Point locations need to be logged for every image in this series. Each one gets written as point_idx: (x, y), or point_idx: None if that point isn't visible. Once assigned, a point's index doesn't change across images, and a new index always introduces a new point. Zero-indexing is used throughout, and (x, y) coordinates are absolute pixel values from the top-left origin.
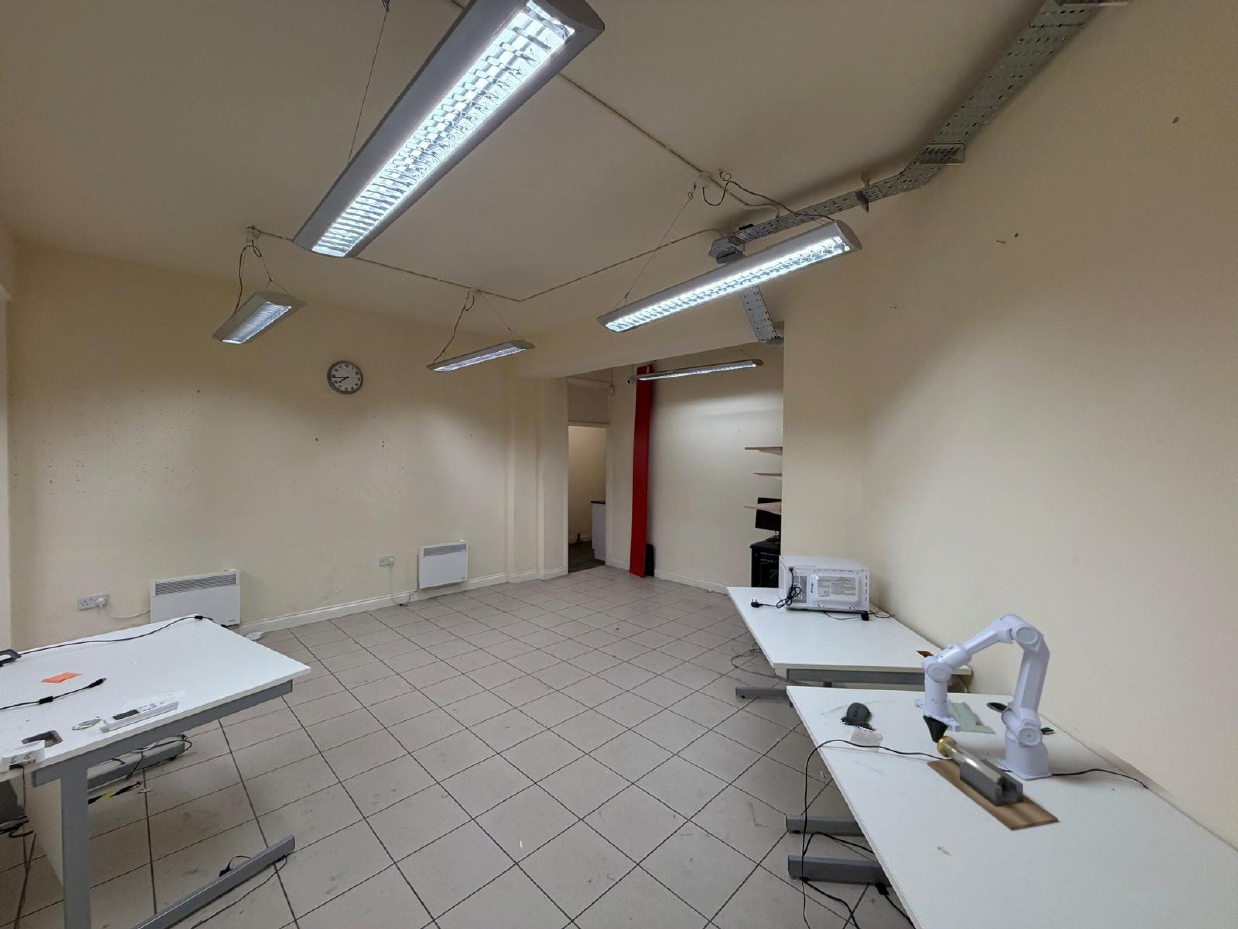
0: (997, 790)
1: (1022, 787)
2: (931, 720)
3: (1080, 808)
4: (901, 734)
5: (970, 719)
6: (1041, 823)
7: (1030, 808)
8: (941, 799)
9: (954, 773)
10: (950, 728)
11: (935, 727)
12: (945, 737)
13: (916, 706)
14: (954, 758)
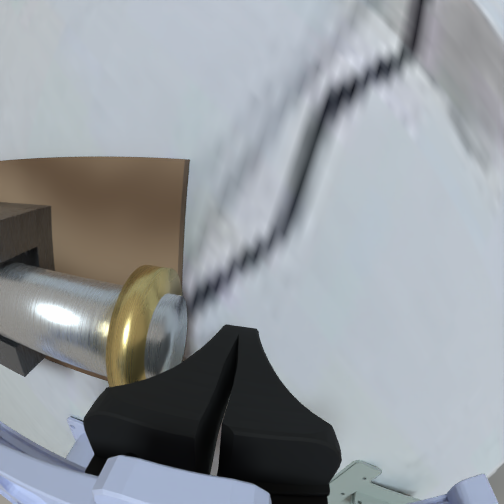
0: None
1: None
2: (171, 446)
3: (5, 399)
4: (444, 278)
5: None
6: None
7: None
8: (33, 48)
9: (80, 221)
10: (345, 476)
11: (131, 386)
12: (115, 369)
13: (466, 484)
14: (68, 274)
